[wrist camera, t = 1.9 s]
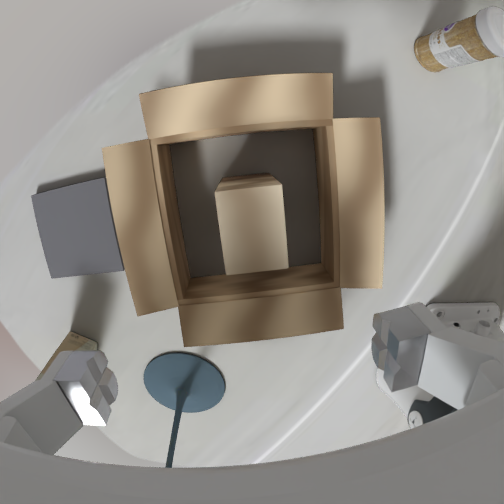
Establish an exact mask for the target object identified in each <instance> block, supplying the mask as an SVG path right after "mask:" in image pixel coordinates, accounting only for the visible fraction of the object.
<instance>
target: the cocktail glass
mask: <svg viewBox="0 0 504 504" xmlns="http://www.w3.org/2000/svg"><path fill="white" fill-rule="evenodd" d="M144 384H145V386H146V389H147V390H148V392H149V394H150V395H151V396H152V397H153V398H154V399H155V400H156V401H158V402H159V403H160V404H162V405H164V406H166V407H168V408H170V409H173V410H175V416H174V422H173V428H172V434H171V440H170V445H169V451H168V457H167V462H166V467H165V468H172V462H173V456H174V450H175V444H176V439H177V433H178V428H179V423H180V418H181V413H182V412H189V413H193V412H201V411H205V410H208V409H210V408H212V407H214V406H215V405H217V404H218V403H219V402H220V400H221V399H222V397H223V395H224V391H225V384H224V380H223V378H222V376H221V374H220V372H219V371H218V370H217V369H216V368H215V367H214V366H213V365H212V364H210V363H209V362H207V361H206V360H204V359H202V358H199V357H197V356H194V355H190V354H184V353H170V354H165V355H161V356H159V357H157V358H155V359H154V360H152V361H151V362H150V363H149V364H148V365H147V367H146V369H145V372H144Z"/></svg>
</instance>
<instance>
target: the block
mask: <svg viewBox="0 0 504 504" xmlns="http://www.w3.org/2000/svg"><path fill="white" fill-rule="evenodd" d="M215 200H216V207H217V215H218V222H219V229H220V236H221V244H222V251H223V258H224V264H225V271H226V275H234V274H243V273H252V272H261V271H270V270H278V269H287V268H289V266H288V252H287V239H286V226H285V214H284V202H283V191H282V184H281V183H280V182H279V181H277V180H276V179H275V178H274V177H273V176H272V175H271V174H270V173H260V174H250V175H241V176H233V177H224V178H222V180H221V181H220V183H219V185H218V187H217V188H216V190H215Z"/></svg>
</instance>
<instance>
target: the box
mask: <svg viewBox="0 0 504 504" xmlns="http://www.w3.org/2000/svg"><path fill="white" fill-rule="evenodd" d="M91 350H97V342H95V341H93V340H90V339H88V338H85V337H83V336H81V335H78V334H76V333H73V332H69V333H68V335H67V336H66V338H65V339H64V340H63V342H62V343H61V344H60V346H59V347H58V349H57V350H56V351H55V353H54V354H53V356H52V357H51V359H50V360H49V361H48V363H47V364H46V366H45V367H44V369H43V370H42V372H41V373H40V375H39V376H38V377H37V379H36V380H41V378H42V377H43V375H44V374H45V372H46V371H47V369H48V368H49V367H50V365H51V364H52V362H53V361H54V360H55V358H56V357H57V355H58V354H59V353H60V352H62V351H91ZM36 380H35V381H36Z"/></svg>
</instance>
